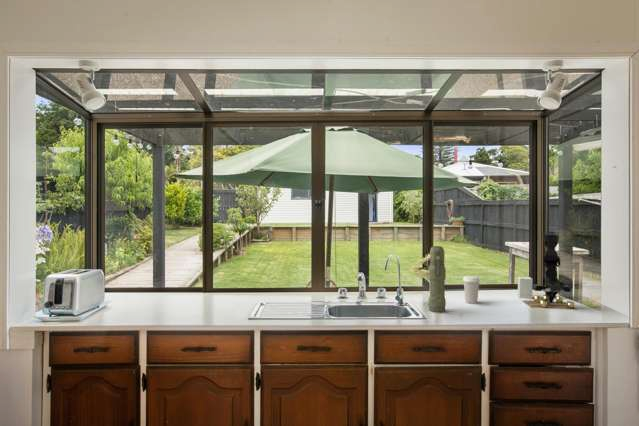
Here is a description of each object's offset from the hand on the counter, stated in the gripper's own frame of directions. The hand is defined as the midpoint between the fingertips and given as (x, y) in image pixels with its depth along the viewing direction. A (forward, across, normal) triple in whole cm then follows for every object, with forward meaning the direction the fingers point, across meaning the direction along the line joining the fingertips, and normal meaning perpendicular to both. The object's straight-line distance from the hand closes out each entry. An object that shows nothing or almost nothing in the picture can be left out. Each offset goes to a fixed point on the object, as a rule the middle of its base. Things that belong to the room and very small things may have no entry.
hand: (551, 303), depth 230 cm
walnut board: (+2, -1, 0) cm, 2 cm away
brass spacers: (+1, +1, 0) cm, 1 cm away
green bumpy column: (+2, -65, -22) cm, 69 cm away
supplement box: (+2, -8, +19) cm, 21 cm away
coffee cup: (+2, -43, +1) cm, 43 cm away
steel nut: (+1, -4, 0) cm, 4 cm away
